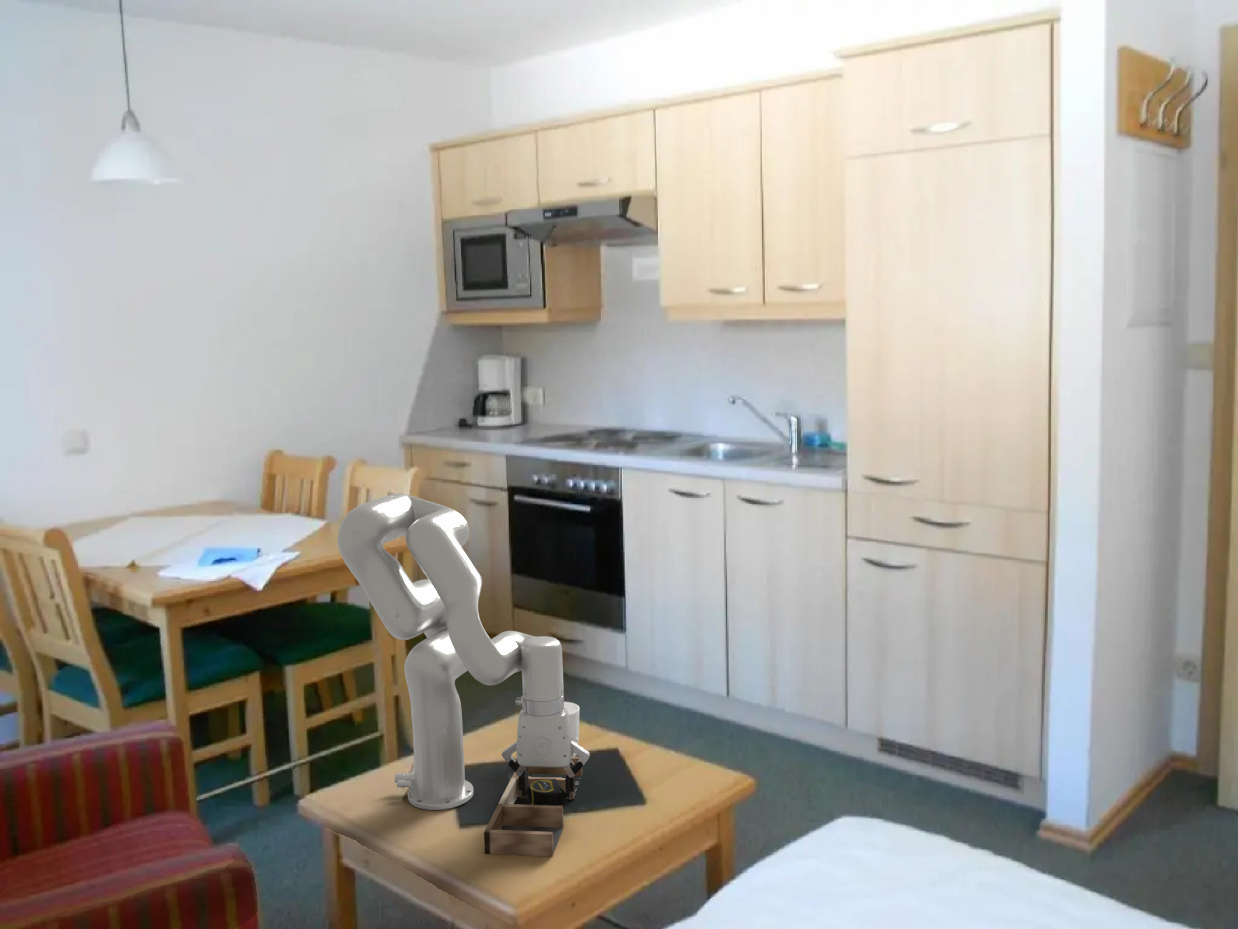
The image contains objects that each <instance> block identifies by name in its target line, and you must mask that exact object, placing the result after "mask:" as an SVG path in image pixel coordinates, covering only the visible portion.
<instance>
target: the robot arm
mask: <svg viewBox="0 0 1238 929" xmlns="http://www.w3.org/2000/svg"><path fill="white" fill-rule="evenodd" d="M402 537H404V538H405V543H406V547H407V548H408V550H409V552H410V554H411V555H412V557H413V559H414V560H415V561H416V563H417V564H418V566H419V568H420V569H421V570H422V572H423V574H424V575H425V577H426V578H427V579H420V580H416V581H414V582H412V580H411V579H410V577H409V576H408V574H407V572H406V570H405V569H404V567H403V566H402V564H401V563H400V561H399V560H398V559H397V558H396V557H395V556H394V555H393V554H391V553H390V552H388V551H387V550H386V549H385V548H384V546H385V544H387V543H388V542H392V541H393V540H396V539H399V538H402ZM469 538H470V527H469V523H468V521H467V519H466V518H465V517H464V516H463V515H462V514H461V513H460V512H458V511H457V510H455V509H453V508H451V507H448V506H445V505H442V504H439V503H436V502H433V501H430V500H426V499H423V498H420V497H417V496H413V495H411V494H407V493H393V494H388V495H385V496H382V497H379V498H377V499H376V498H375V499H373V500H370V501H366V502H364V503H362V504H360V505H357V506H355V507H354V508H353V509H351V510H350V511H349V512H347V514H346V515H345V516H344V518H343V519H342V521H341V523H340V525H339V528H338V532H337V547H338V551H339V554H340V556H341V559H342V560H343V561H344V562H343V563H344V564H345V566H346V567H347V568H348V570H349V571H350V572H351V574H352V575H353V576H354V578H355V580H357V582H358V584H359V585H360V586H361V588H362V590H363V592H364V594H365V596H366V598H367V599H368V600H369V602H370V604H371V606H372V607H373V609H374V611H375V612H376V613H377V615H378V617H379V619H380V620H381V623H382V624H383V626H384V627H385V629H386V630H387V631H388V633H389V634H390V636H392V637H393V638H395V639H397V640H401V641H407V640H410V639H413V638H415V637H418V636H420V635H421V634H424V635H425V637H426V638H425V639H423V640H422V641H420V642H418V643H417V644H416V645H414V646H413V648H412V649H411V650H410V651H409V652H408V655H406V658H405V660H404V661H405V662H404V666H403V668H404V671H403V672H404V677H405V681H406V686H407V689H408V693H409V694H408V695H409V702H410V711H411V714H410V715H411V723H412V742H413V743H412V744H413V745H412V746H413V758H414V759H413V763H414V766H413V767H414V771H412V772H411V773H405V772H396V773H395V775H394V782H395V783H394V784H396V787H397V788H408V789H409V790H408V792H407V800H408V802H409V804H411V805H412V806H414V807H415V808H418V809H421V810H426V811H427V810H428V811H438V810H439V811H440V810H441V811H442V810H448V809H452V808H456V807H459V806H461V805H463V804H465V803H467V802H469V801H470V800H471V799H472V798H473V796H474V786H473V784H472V783H471V782H469V781H468V780H466V779H465V778H466V776H465V773H466V772H465V755H464V754H465V752H464V735H463V734H464V732H463V730H464V729H463V728H464V727H463V715H462V714H463V713H462V704H461V699H460V695H459V693H458V690H457V688H456V684H455V683H456V682H455V681H456V679H458V678H460V676H462V675H463V674H465V673H466V672H469V674H470V675H471V676H472V677H473V678H474V679H475V680H476V681H478V682H479V683H481V684H483V685H486V686H495V685H498V684H501V683H502V682H504V681H505V680H506V679H508V678H510V677H511V676H512V675H513V674H515V673H518V672H520V671H521V679H522V696H519V697H516V698H515V702H514V703H515V706H520V707H521V708H522V709H521V710H520V711H519V712H518V721H517V730H516V741H515V742H513V743H512V744H510V745H509V746H508V747H506V748H504V749H503V751H502V753H501V757H502V758H503V760H504V761H505V762H506V763H507V764H508V766H509V767H510V769H511V770H512V771H514V772H516V775H517V776H518V780H519V790H522V797H525V796H526V795H527V790H528V788H529V778H528V771H527V770H526V767H552V768H561V767H563V769H564V770H565V772H566V773H567V775H566V778H565V786H566V797H567V798H570V796H571V794H572V792H574V791H575V774H576V773H577V772H578V771H579V770H580V769H581V768H582V769H583V766H584V765H585V764H586V763H587V761H588V760H589V758H590V756H591V752H589V751H588V750H586V749H585V748H584V747H582V746H581V745H579V743H578V744H577V743H575V742H574V741H573V737H572V729H571V723H570V718H569V714H568V710H567V709H566V708H564V702H565V695H564V694H565V693H564V690H565V689H564V666H563V648H562V647H563V646H562V643H561V642H560V640H558V639H557V638H556V637H553V636H546V635H544V636H543V635H542V636H541V635H540V636H536V635H535V636H534V635H531V634H527V633H523V632H520V631H517V630H516V631H515V630H506V631H502V632H500V633H499V634H497V635H496V636H494V637H492V638H491V637H490V636H489V635H488V633H487V632H486V630H485V628H484V626H483V624H482V621H481V618H480V613H479V599H480V595H481V592H482V587H483V578H482V576H481V574H480V573H479V571H478V569H477V568H476V566H475V565H474V564H473V562H472V560H471V559H470V558H469V556H468V554H467V553H466V552H465V550H464V548H463V547H464V546H465V545H466V544H467V543H468V540H469ZM515 752H516V757H514V756H513V754H514V753H515ZM573 752H574V753H576V754H577V755H576V756H577V757H580V759H579V760H578V761H577V762H576V763H575V764H574V763H573V762H572V760H571V758H572V756H573Z"/></svg>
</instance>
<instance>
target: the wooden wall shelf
mask: <svg viewBox="0 0 1238 929" xmlns="http://www.w3.org/2000/svg"><path fill="white" fill-rule="evenodd" d="M579 759H580V756H578V755H576V756H572V758H571V760H572V762H573V763H574V764H575V763H576V762H577V761H578V760H579ZM526 770H527V771H528V774H530V776H529V775H528V778H529V785H530V784H531V783H533V782H535V781H538V780H550V779H556V780H557V781H558V782H559V784H560V786H561V788H562V789H563V790H564V791H565V793H566V786H565V778H562V777H531V775H532V774H537V775H538V774H544V775H546V774H552V775H567V773H566V772H565V770H564V769H563V767H561V768H552V767H526ZM577 776H578V777H577ZM580 776H582V777H583V767H582V768H581V769H580V770H579V771H578V772H577V773H576V774H575V779H579V778H580ZM580 779H581V780H582V778H580ZM578 782H579V781H576V782H575V785H580V783H578ZM576 791H577V792H578V789H577V788H576V789H575V793H576V794H577V792H576ZM575 793H574V792H572V794H571V796H570V798H567V799H574V800H575V797H576V794H575ZM574 796H575V797H574ZM517 797H522V790H519V780H518V776H517V775H516V772H515V771H514V772H513V774H512V776H511V778H510V780H509V782H508V784H507V785H506V788H505V790H504V792H503V794H502V796H501V798H500V800H499V802H498V804H497V805H496V808H495V809H494V811H493V814H492V816H491V818H490V820H489V822H488V823H487V826H486V827H485V829H484V832H483V840H484V841H483V842H484V843H483V844H484V854H487V855H506V856H507V855H509V856H510V855H511V856H530V857H531V856H536V857H554V854H555V851H556V849H557V845H558V843H559V841H560V838H561V835H562V832H563V829H564V824H565V822H564V806H563V805H560V806H549V805H531V804H514V803H516V802H515V801H517V799H518V798H517ZM525 797H527V795H526V796H525ZM516 798H517V799H516Z"/></svg>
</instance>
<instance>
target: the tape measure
mask: <svg viewBox="0 0 1238 929" xmlns="http://www.w3.org/2000/svg"><path fill="white" fill-rule="evenodd" d="M526 799H527V801H528V803H529V805H549V806H563V805H565V804H566V803H567V797H566V793H565V791H564V790H563V789H562V788H561V786H560V784H559V782H558V781H557V780H556V779H550V780H538V781H535V782H533V783H531V784H530V785H529V788H528V790H527V798H526Z"/></svg>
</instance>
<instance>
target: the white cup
mask: <svg viewBox="0 0 1238 929" xmlns="http://www.w3.org/2000/svg"><path fill="white" fill-rule="evenodd" d="M564 708H566V709H567V710H568V714H569V718H570V723H571V729H572V737H573V741H574V742H575V743H577V744H578V745H579V739H580V735H579V734H580V706H579V705H578V704H576V703H574V702H569V701H564ZM573 756H578V755H577V754H576V753H574V752H573Z"/></svg>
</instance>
